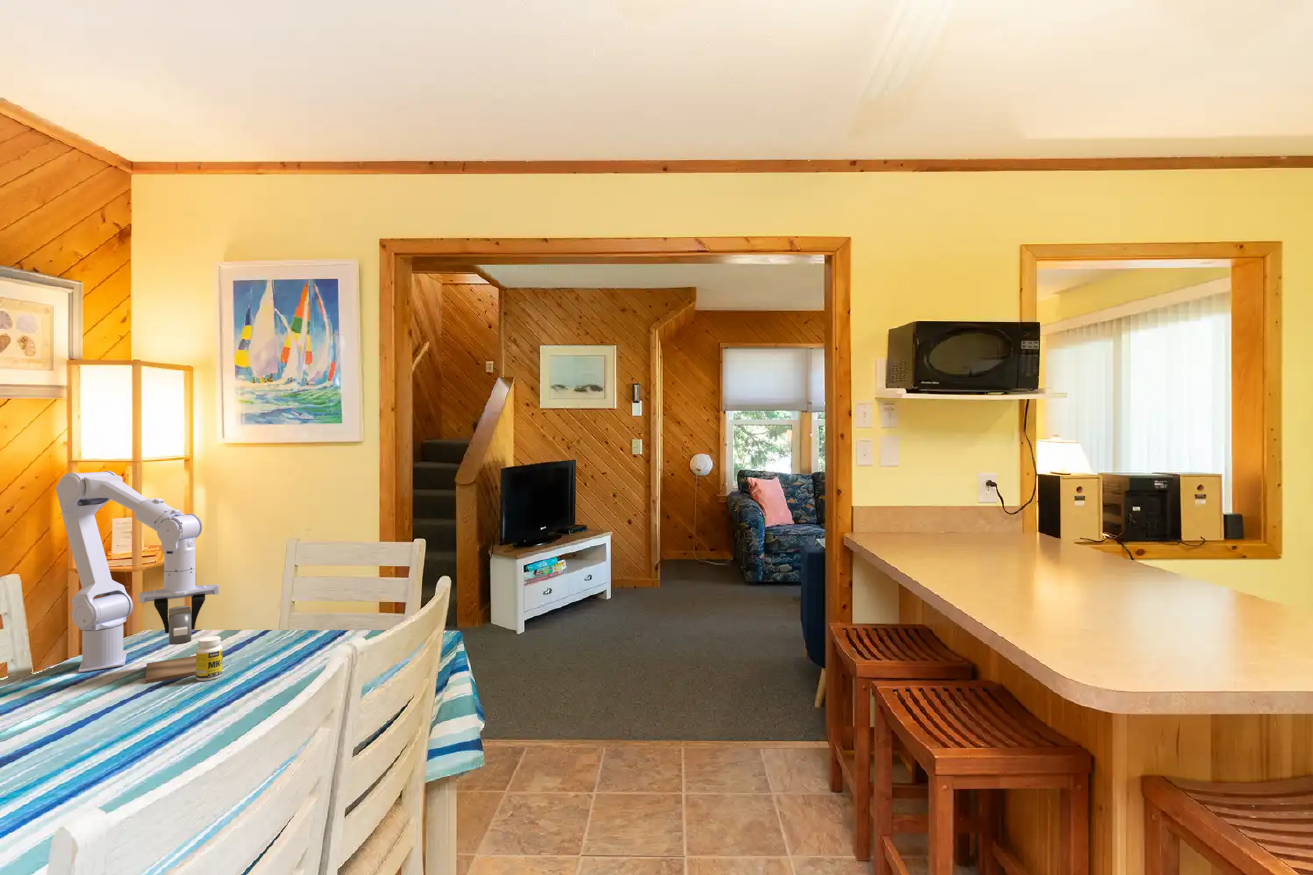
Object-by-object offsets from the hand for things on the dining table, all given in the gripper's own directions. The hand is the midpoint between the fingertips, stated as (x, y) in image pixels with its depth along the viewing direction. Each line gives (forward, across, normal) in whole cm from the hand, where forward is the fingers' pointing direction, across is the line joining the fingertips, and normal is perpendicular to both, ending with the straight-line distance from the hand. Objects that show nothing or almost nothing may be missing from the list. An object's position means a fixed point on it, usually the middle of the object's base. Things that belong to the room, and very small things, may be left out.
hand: (179, 630), depth 150 cm
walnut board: (+9, 0, 0) cm, 9 cm away
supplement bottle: (+9, +5, -10) cm, 14 cm away
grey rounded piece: (+2, 0, -1) cm, 2 cm away
